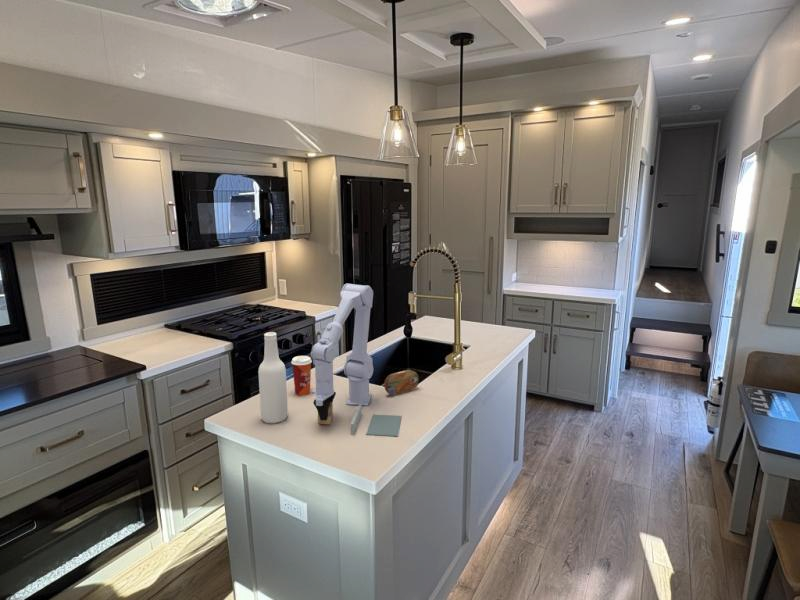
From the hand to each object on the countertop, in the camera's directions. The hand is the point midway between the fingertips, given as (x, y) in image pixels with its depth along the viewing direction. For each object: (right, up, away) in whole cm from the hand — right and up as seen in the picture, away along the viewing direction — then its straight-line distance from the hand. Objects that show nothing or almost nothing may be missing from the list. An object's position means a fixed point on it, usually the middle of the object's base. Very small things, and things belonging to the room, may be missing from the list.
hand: (325, 416), depth 151 cm
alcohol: (-18, -1, +3) cm, 18 cm away
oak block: (0, -2, 0) cm, 2 cm away
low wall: (+10, -2, -1) cm, 11 cm away
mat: (+20, -2, -1) cm, 20 cm away
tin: (+26, +3, +26) cm, 36 cm away
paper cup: (-13, +3, +24) cm, 28 cm away
